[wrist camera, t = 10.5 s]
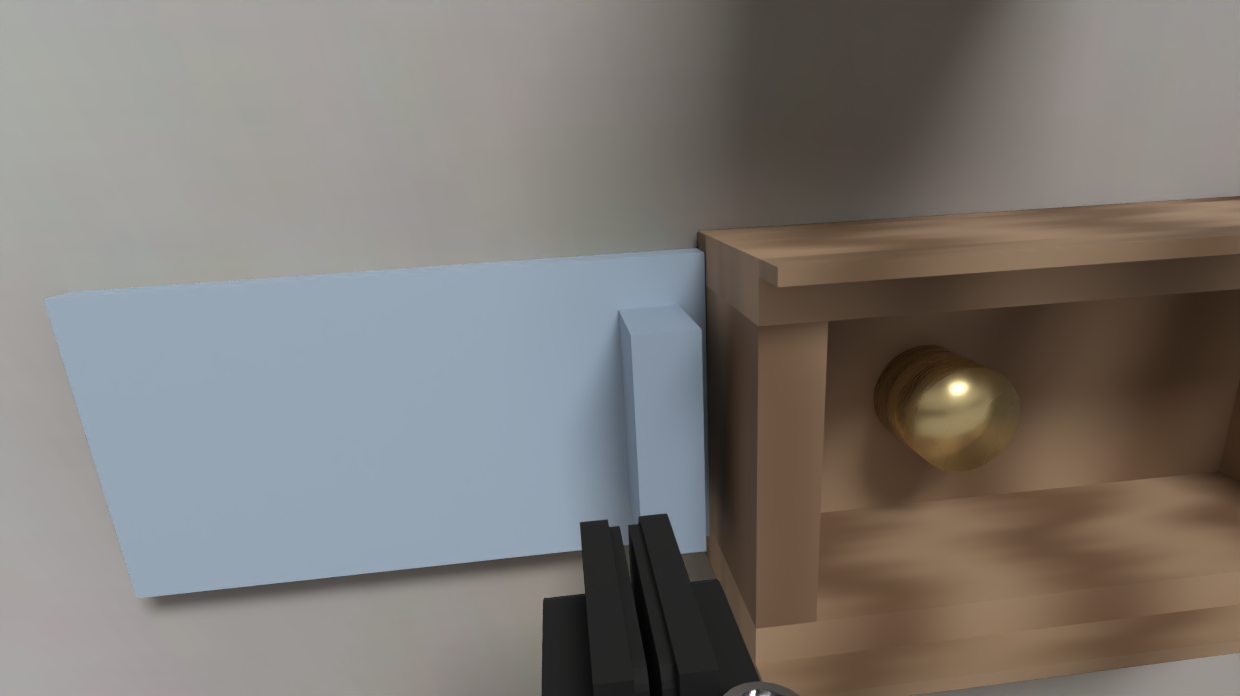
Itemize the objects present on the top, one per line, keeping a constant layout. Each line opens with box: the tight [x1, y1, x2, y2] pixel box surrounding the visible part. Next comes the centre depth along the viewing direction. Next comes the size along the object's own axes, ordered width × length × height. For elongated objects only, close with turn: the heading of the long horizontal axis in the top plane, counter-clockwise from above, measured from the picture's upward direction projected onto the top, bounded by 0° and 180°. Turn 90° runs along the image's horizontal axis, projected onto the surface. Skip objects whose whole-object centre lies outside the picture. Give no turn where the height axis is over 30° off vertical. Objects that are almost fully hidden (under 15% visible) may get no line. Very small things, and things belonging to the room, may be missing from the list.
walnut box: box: [698, 196, 1240, 696], centre depth 19 cm, size 20×11×7 cm, turn 93°
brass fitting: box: [874, 345, 1020, 472], centre depth 20 cm, size 3×3×2 cm
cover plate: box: [44, 248, 710, 598], centre depth 19 cm, size 18×9×5 cm, turn 94°
